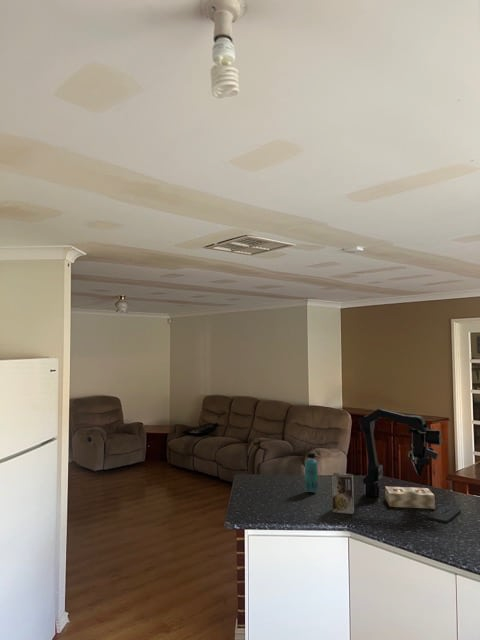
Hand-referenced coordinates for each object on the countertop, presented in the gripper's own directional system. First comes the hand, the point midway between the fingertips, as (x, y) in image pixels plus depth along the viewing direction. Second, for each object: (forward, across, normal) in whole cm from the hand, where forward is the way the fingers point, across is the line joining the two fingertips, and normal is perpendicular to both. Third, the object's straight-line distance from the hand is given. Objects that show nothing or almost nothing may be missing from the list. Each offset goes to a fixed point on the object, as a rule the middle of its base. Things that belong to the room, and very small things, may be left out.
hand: (419, 476), depth 222 cm
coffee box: (+13, -16, +37) cm, 42 cm away
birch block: (+13, 0, +5) cm, 14 cm away
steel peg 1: (+13, 0, +10) cm, 16 cm away
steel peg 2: (+13, 0, 0) cm, 13 cm away
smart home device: (+14, -15, -7) cm, 22 cm away
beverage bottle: (+13, +11, +51) cm, 54 cm away
